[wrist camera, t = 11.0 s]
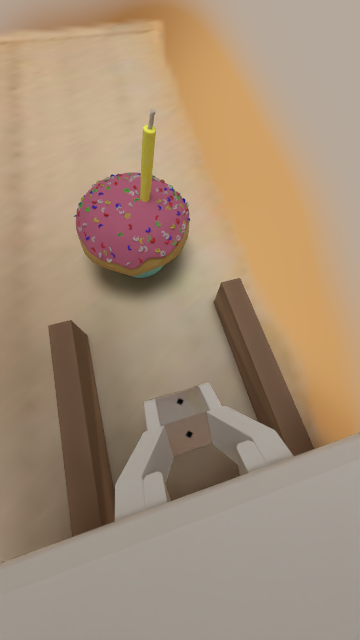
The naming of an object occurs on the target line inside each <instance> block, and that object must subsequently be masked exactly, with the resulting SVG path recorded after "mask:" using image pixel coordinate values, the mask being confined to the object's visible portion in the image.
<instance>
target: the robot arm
mask: <svg viewBox="0 0 360 640" xmlns="http://www.w3.org/2000/svg"><path fill="white" fill-rule="evenodd" d="M144 411H145V418H146V426H147V431H145V432H143V434H142V436H141V438H140V440H139V442H138V443H137V445H136V447H135V449H134V451H133V453H132V455H131V456H130V458H129V460H128V462H127V464H126V466H125V468H124V469H123V471H122V473H121V475H120V477H119V479H118V481H117V482H116V484H115V522H112V523H109V524H107V525H104V526H101V527H98V528H96V529H93V530H90V531H87V532H84V533H82V534H79V535H76V536H73V537H71V538H68V539H65V540H62V541H60V542H57V543H54V544H51V545H49V546H46V547H43V548H40V549H38V550H35V551H32V552H29V553H27V554H24V555H21V556H18V557H16V558H13V559H10V560H7V561H5V562H2V563H0V640H360V433H357V434H354V435H351V436H349V437H346V438H343V439H340V440H338V441H335V442H332V443H329V444H327V445H324V446H321V447H318V448H316V449H313V450H310V451H307V452H305V453H302V454H299V455H296V456H293V454H292V453H291V452H290V450H289V449H288V448H287V446H286V445H285V443H284V442H283V441H282V439H281V438H280V437H279V435H278V434H277V432H276V431H275V430H273V429H271V428H269V427H267V426H265V425H263V424H261V423H259V422H257V421H255V420H254V419H252V418H250V417H248V416H246V415H244V414H242V413H240V412H238V411H236V410H234V409H232V408H230V407H228V406H222V405H221V403H220V401H219V399H218V397H217V395H216V394H215V392H214V390H213V388H212V386H211V384H210V383H209V382H206V383H203V384H200V385H198V386H195V387H191V388H188V389H185V390H182V391H179V392H175V393H172V394H168V395H164V396H161V397H157V398H154V399H151V400H147V401H144ZM209 444H212V445H214V446H215V447H216V448H217V449H219V450H220V451H221V452H222V453H224V454H225V455H226V456H227V457H229V458H230V459H231V460H232V461H234V462H235V463H236V464H237V465H238V466H239V475H240V476H239V477H236V478H233V479H230V480H228V481H225V482H222V483H219V484H217V485H214V486H211V487H208V488H206V489H203V490H200V491H197V492H195V493H192V494H189V495H186V496H184V497H181V498H178V499H175V500H173V501H171V499H170V496H169V493H168V490H167V487H166V482H167V479H168V476H169V472H170V469H171V466H172V462H173V459H174V456H177V455H179V454H182V453H185V452H187V451H190V450H193V449H196V448H199V447H203V446H206V445H209Z"/></svg>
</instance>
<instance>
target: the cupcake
mask: <svg viewBox="0 0 360 640" xmlns="http://www.w3.org/2000/svg"><path fill="white" fill-rule="evenodd" d="M154 114H155V110H152V111H151V113H150V120H149V125H145V126H144V127H143V140H142V164H141V173H124V174H117V175H116V176H114V175H111V176H110V177H107V178H106V179H104V180H101V181H98V182H96V183H97V184H94V185H92V186H93V187H92V188H91V189H90V190H89V191H88V193H87V194H86V195H84V197H82V198H81V202H80V203H79V208H78V209H77V215H75V216H76V229H77V233H78V236H79V239H80V242H81V245H82V248H83V250H84V252H85V254H86V255H87V256H88V257H89V259H91V260H92V261H93V262H94V263H96V264H98V265H100V266H102V267H104V268H106V269H109V270H112V271H115V272H119V273H122V274H126V275H128V276H131V277H135V278H145V277H149V276H152V275H154V274H156V273H157V272H159V271H160V270H161V269H162V268H163V266H164V265H165V264H167V263H169V262H170V261H172V260H173V259H174V258H175V257H177V256H178V254H179V253H180V252H181V250H182V248H183V246H184V244H185V242H186V240H187V237H188V231H189V221H190V219H189V210H188V205H187V204H188V202H187V203H186V204H185V199H184V198H183V199H182V196H181V194H180V193H178V192H176V191H175V189H173V187H172V186H171V185H168V184H166V183H165V181H164V180H159V179H158V178H156V177H155V176H153V175H152V168H153V156H154V145H155V134H156V129H155V127H153V121H154ZM75 216H74V217H75Z"/></svg>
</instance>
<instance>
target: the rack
mask: <svg viewBox="0 0 360 640" xmlns="http://www.w3.org/2000/svg"><path fill="white" fill-rule="evenodd" d="M214 304H215V307H216V310H217V312H218V315H219V318H220V320H221V323H222V326H223V328H224V331H225V334H226V336H227V339H228V342H229V344H230V347H231V350H232V352H233V355H234V358H235V360H236V363H237V366H238V368H239V371H240V374H241V376H242V379H243V382H244V384H245V387H246V390H247V392H248V395H249V398H250V400H251V403H252V406H253V408H254V411H255V414H256V416H257V419H258V422H259V423H261V424H263V425H265V426H267V427H269V428H271V429H273V430H275V431H276V432H277V434H278V435H279V437H280V438H281V439H282V441H283V442H284V443H285V445H286V446H287V448H288V449H289V450H290V452H291V453H292V454H293V456H296V455H299V454H302V453H305V452H307V451H310V450H313V449H314V448H313V445H312V443H311V441H310V438H309V436H308V434H307V431H306V429H305V427H304V425H303V422H302V420H301V418H300V415H299V413H298V411H297V408H296V406H295V404H294V401H293V399H292V397H291V395H290V392H289V390H288V388H287V385H286V383H285V381H284V378H283V376H282V374H281V371H280V369H279V367H278V364H277V362H276V360H275V358H274V355H273V353H272V351H271V348H270V346H269V344H268V341H267V339H266V337H265V334H264V332H263V330H262V328H261V325H260V323H259V321H258V318H257V316H256V314H255V311H254V309H253V307H252V304H251V302H250V300H249V297H248V295H247V293H246V291H245V288H244V286H243V284H242V281H241V279H240V278H238V279H234V280H230V281H226V282H222V283H221V285H220V288H219V290H218V293H217V295H216V298H215V301H214ZM48 327H49V336H50V345H51V354H52V362H53V371H54V380H55V389H56V397H57V406H58V415H59V424H60V432H61V441H62V450H63V459H64V468H65V476H66V485H67V494H68V503H69V511H70V520H71V529H72V537H73V536H76V535H79V534H82V533H84V532H87V531H90V530H93V529H96V528H98V527H101V526H104V525H107V524H109V523H112V522H115V496H114V490H113V484H112V478H111V472H110V466H109V460H108V454H107V449H106V443H105V437H104V431H103V425H102V419H101V413H100V407H99V401H98V396H97V390H96V384H95V378H94V372H93V366H92V360H91V354H90V349H89V343H88V337H87V335H86V334H85V333H84V332H83V331H82V330H81V329H80V328H79V327H78V326H77V325H75V324H74V323H73V322H72V321H71V320H70V321H66V322H62V323H58V324H54V325H50V326H48Z"/></svg>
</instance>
